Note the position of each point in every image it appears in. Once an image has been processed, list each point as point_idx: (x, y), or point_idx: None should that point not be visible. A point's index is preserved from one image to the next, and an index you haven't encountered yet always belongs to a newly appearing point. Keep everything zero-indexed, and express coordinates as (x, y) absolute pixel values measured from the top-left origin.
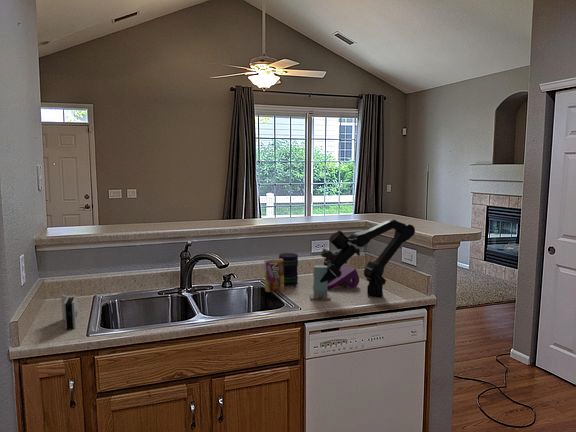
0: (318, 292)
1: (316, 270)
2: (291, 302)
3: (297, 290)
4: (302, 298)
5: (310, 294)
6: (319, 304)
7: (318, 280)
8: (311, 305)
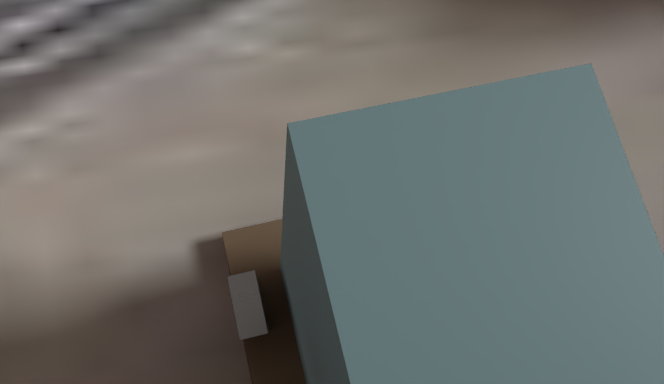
0: (238, 334)
1: (304, 247)
2: (125, 32)
3: (575, 37)
4: None
5: None
6: (91, 368)
7: (304, 326)
8: (38, 271)
